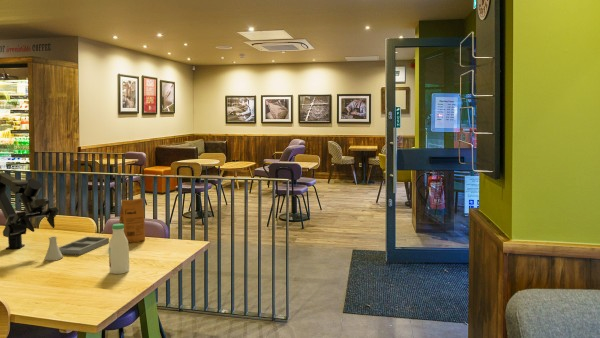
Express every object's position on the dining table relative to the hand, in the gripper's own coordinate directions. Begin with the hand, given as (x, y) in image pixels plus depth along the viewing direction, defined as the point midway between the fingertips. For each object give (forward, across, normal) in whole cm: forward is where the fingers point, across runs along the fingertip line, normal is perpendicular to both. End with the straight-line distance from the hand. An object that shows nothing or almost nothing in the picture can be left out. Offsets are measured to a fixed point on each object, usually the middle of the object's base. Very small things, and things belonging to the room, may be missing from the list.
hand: (44, 229), depth 220 cm
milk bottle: (+42, +6, -24) cm, 49 cm away
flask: (+14, 0, +4) cm, 15 cm away
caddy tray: (+10, +18, +8) cm, 22 cm away
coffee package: (+15, +41, +3) cm, 44 cm away
